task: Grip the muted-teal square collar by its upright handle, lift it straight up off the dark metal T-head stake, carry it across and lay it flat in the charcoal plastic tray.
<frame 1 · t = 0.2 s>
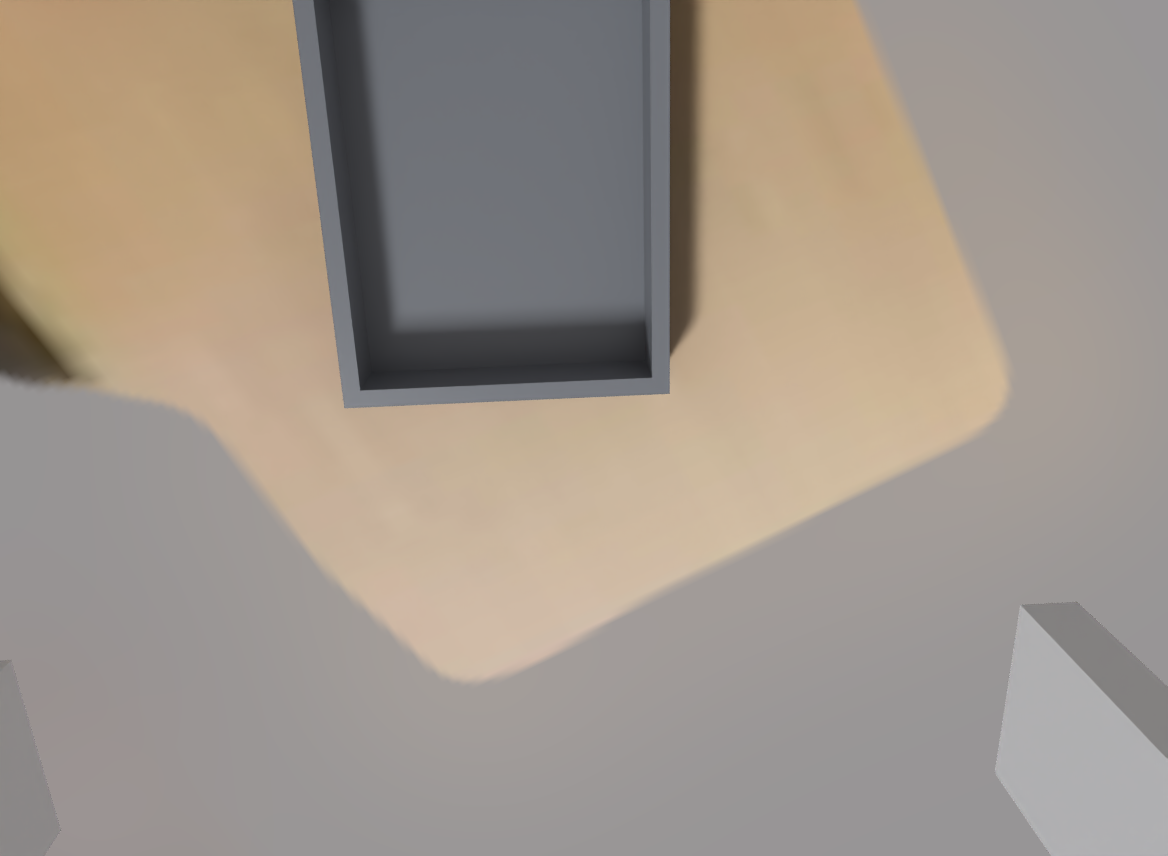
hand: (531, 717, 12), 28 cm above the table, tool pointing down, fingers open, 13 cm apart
tray: (498, 185, 36), on the table
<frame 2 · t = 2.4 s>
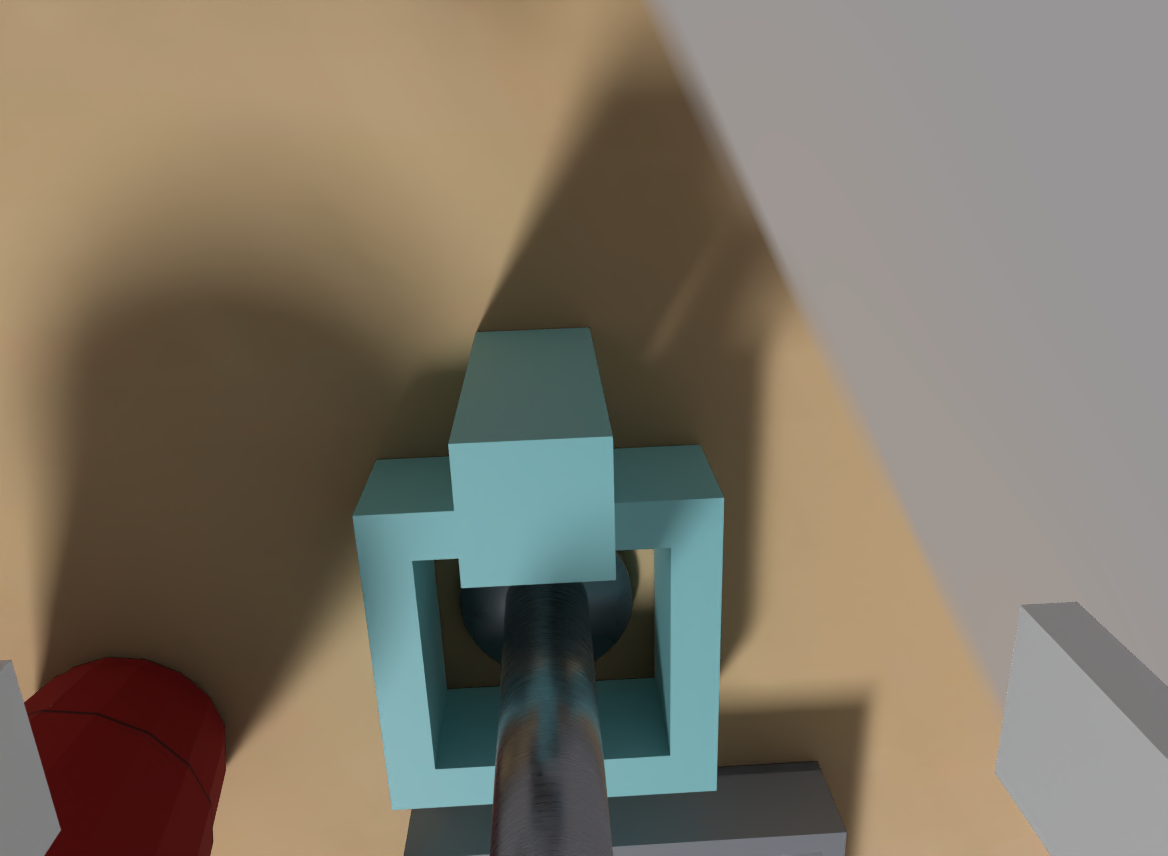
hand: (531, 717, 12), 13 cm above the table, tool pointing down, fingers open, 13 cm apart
plastic cup: (131, 724, 28), on the table
tabbed collar: (546, 593, 27), on the table
t stake: (546, 593, 27), on the table
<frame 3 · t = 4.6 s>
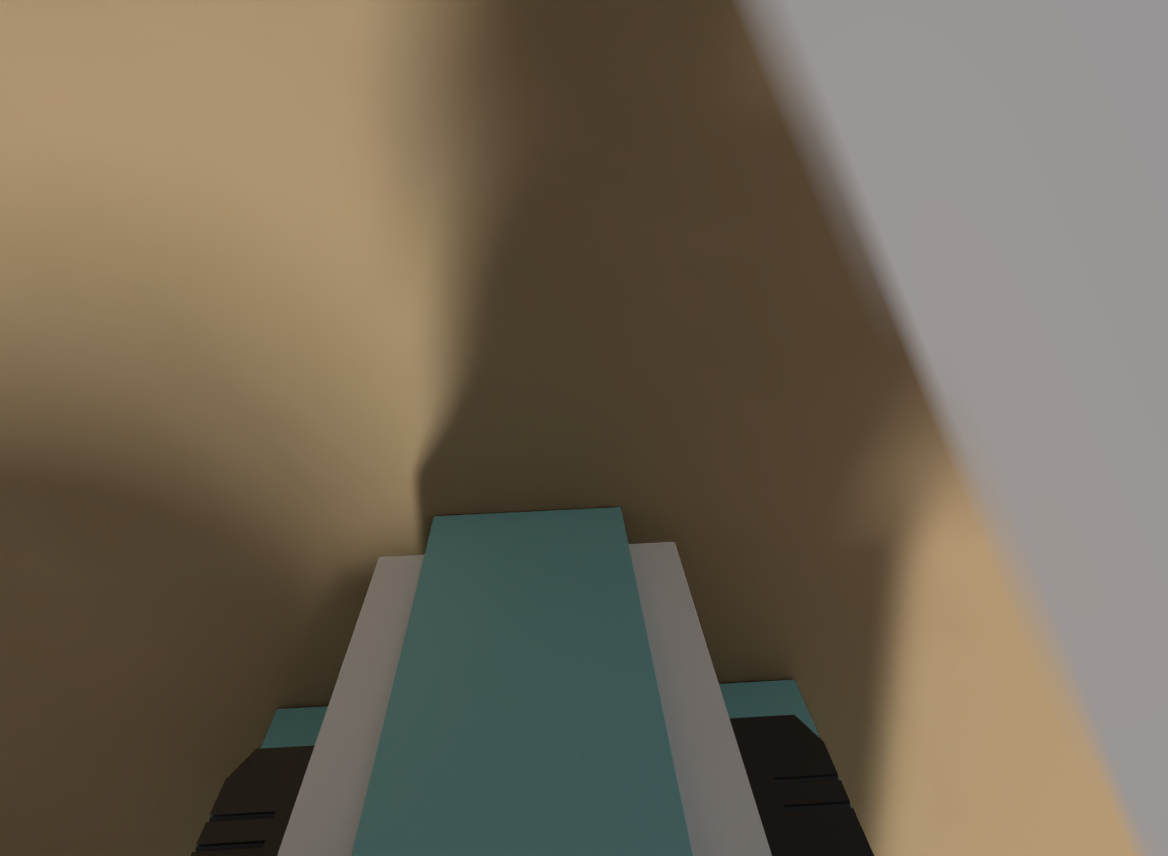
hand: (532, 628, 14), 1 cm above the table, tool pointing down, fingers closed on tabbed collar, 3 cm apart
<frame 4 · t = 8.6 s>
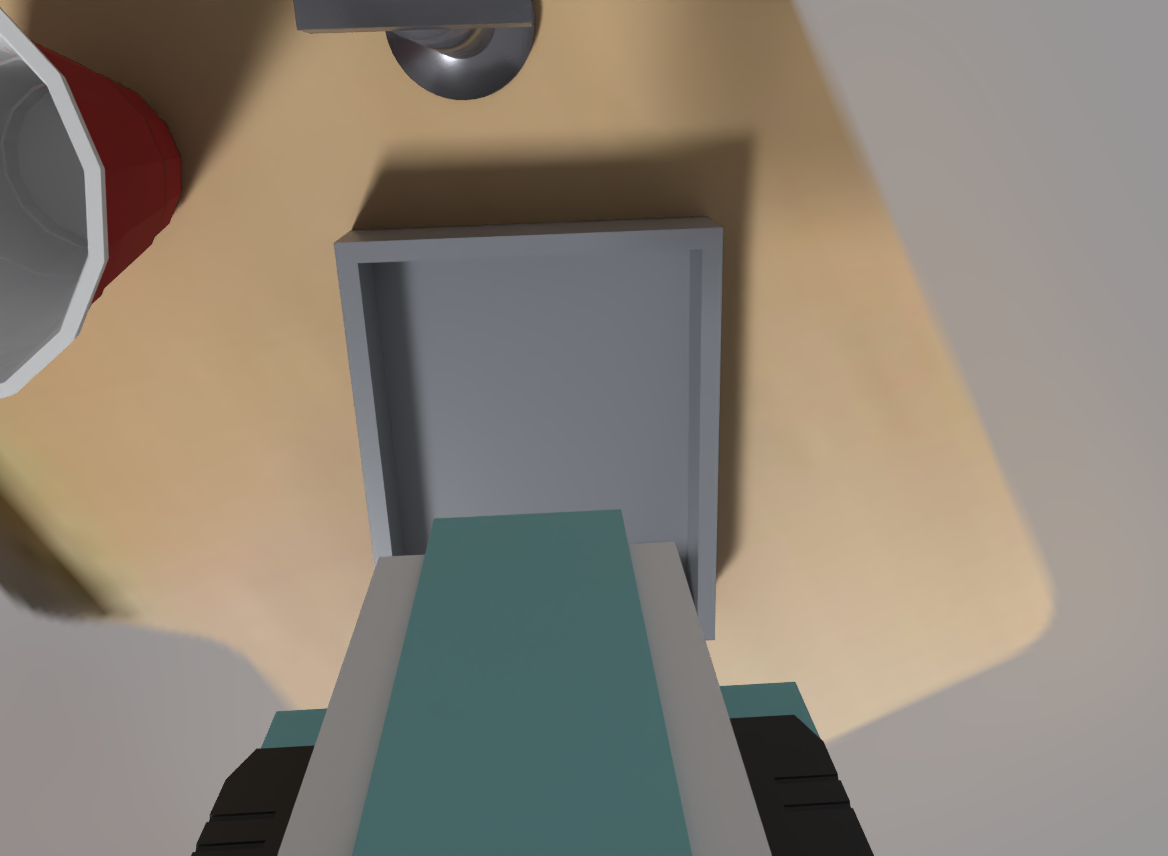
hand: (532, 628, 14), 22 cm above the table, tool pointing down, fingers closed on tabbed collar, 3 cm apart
plastic cup: (98, 158, 32), on the table
tray: (541, 431, 36), on the table
t stake: (460, 21, 31), on the table
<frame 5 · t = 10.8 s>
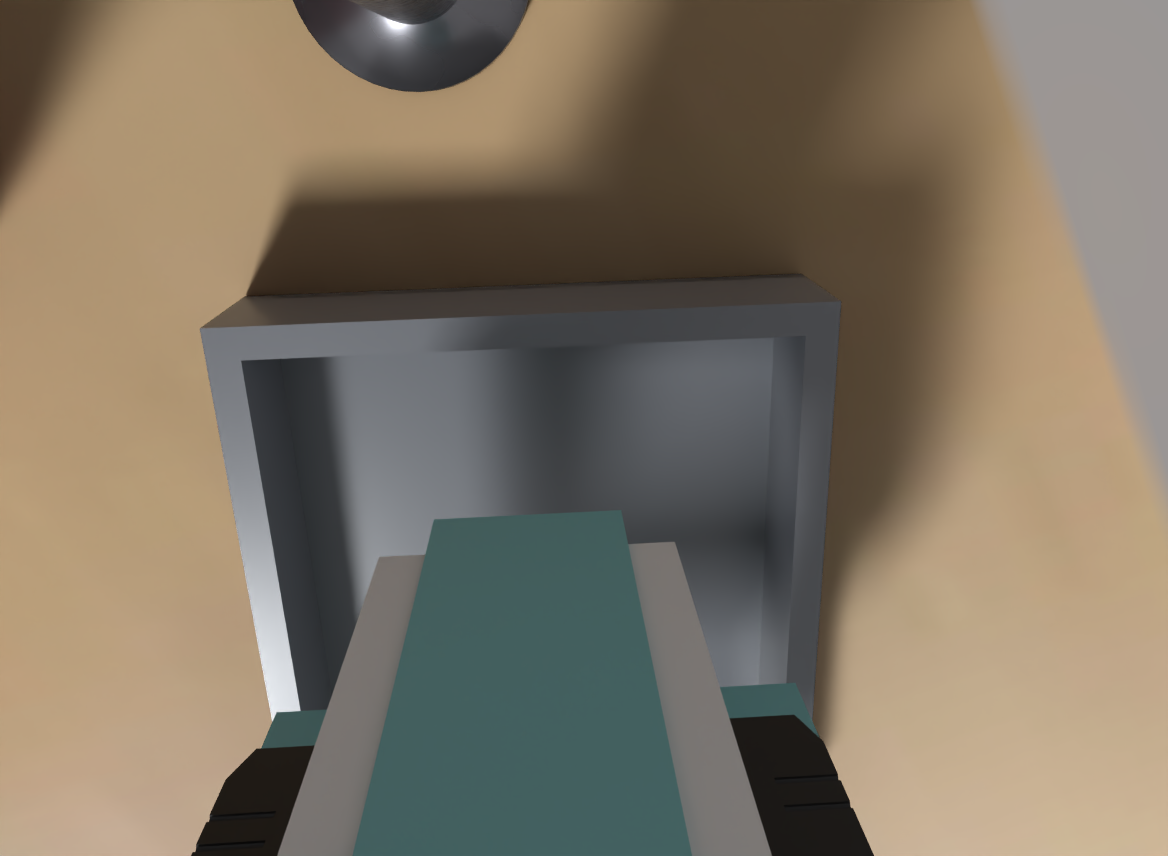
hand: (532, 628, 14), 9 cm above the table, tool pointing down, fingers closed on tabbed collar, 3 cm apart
tray: (542, 587, 24), on the table
when the fingers open (4 cm above the table, at t = 12.5 s): tabbed collar drops 2 cm, resting on tray.
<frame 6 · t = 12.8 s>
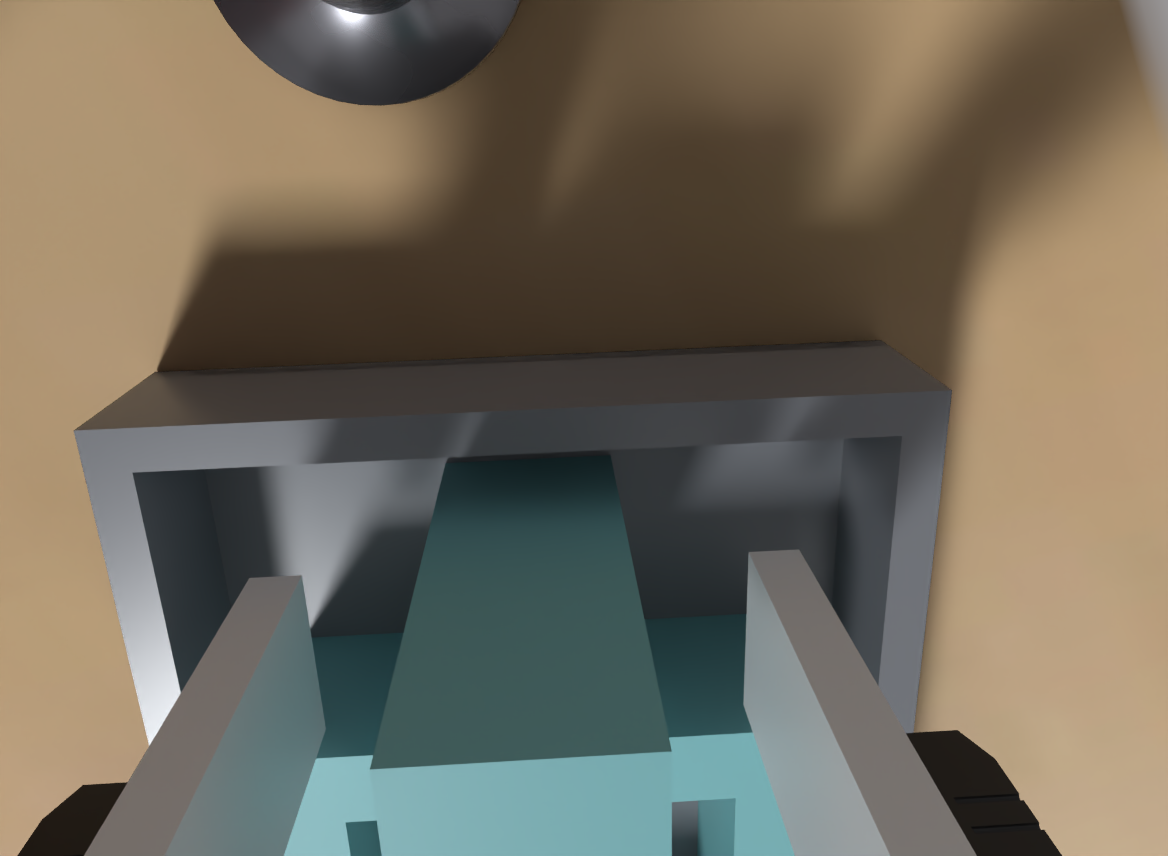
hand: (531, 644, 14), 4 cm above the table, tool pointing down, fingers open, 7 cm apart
tabbed collar: (548, 808, 19), resting on tray
tray: (544, 728, 19), on the table
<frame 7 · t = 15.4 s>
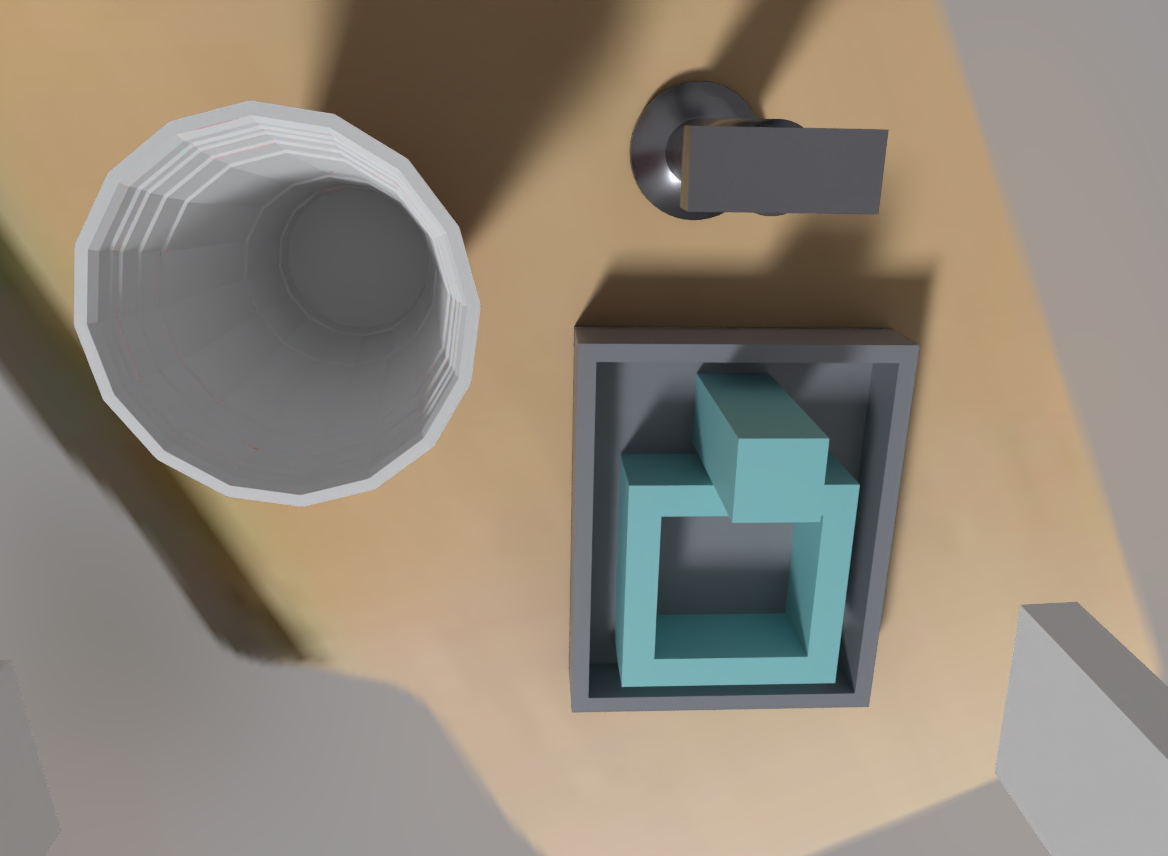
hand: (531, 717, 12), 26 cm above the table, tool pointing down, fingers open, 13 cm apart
plastic cup: (357, 253, 35), on the table
tabbed collar: (719, 549, 40), resting on tray
tray: (720, 509, 40), on the table
t stake: (694, 151, 35), on the table
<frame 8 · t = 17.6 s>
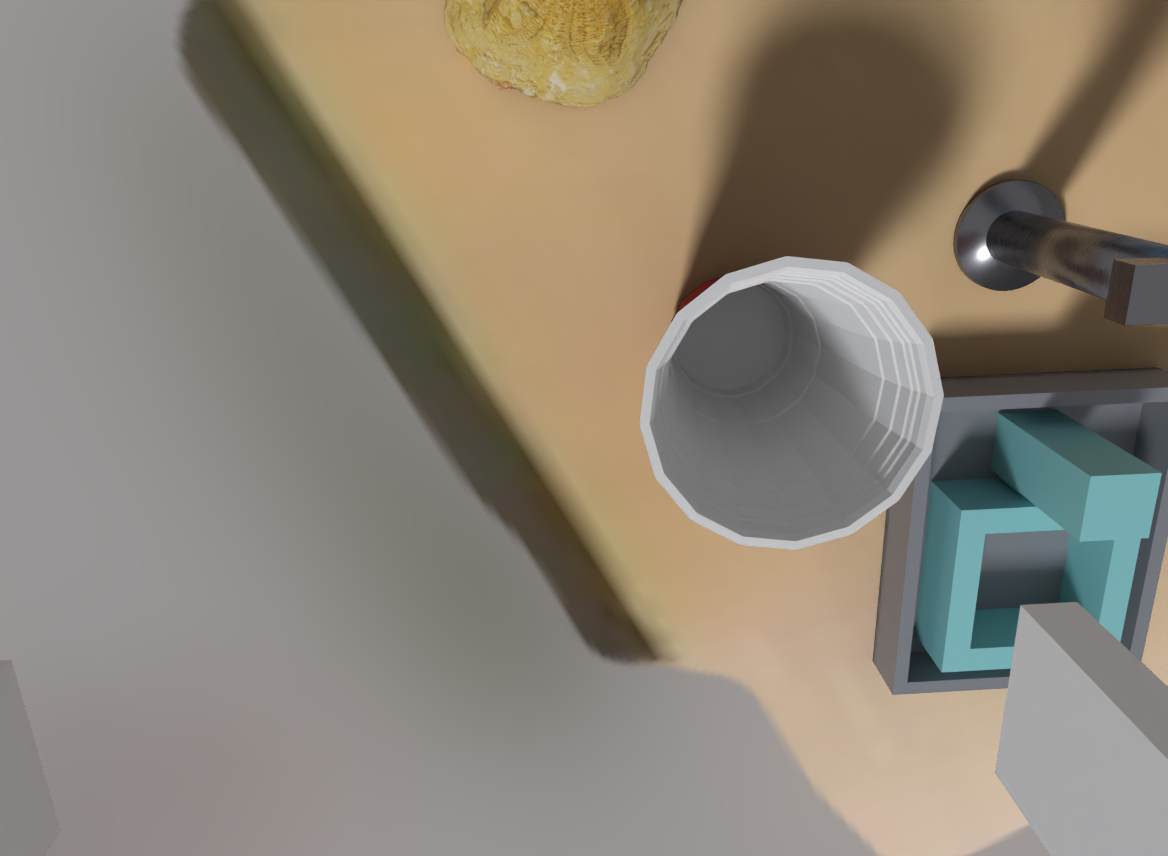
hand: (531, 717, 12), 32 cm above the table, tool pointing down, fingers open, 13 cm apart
plastic cup: (726, 330, 43), on the table
tabbed collar: (1007, 555, 48), resting on tray
tray: (1007, 522, 47), on the table
t stake: (1006, 235, 42), on the table
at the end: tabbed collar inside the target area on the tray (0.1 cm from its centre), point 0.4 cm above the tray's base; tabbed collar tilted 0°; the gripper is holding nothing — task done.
